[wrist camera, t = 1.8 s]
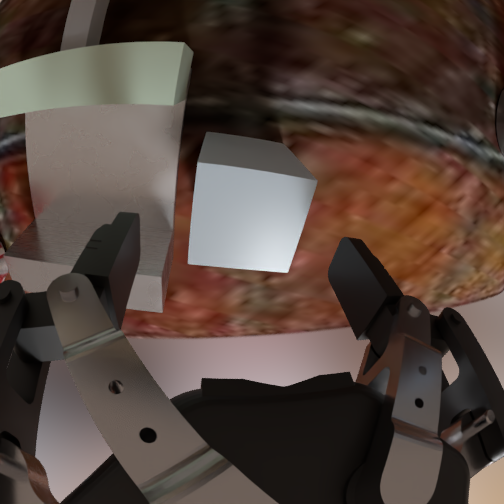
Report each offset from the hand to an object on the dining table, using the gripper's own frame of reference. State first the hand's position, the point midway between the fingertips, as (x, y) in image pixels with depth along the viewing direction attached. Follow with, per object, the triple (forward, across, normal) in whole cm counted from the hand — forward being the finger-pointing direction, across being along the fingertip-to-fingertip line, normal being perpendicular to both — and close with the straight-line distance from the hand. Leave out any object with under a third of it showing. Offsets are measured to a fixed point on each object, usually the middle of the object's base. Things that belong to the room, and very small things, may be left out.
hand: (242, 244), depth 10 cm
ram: (+8, +9, -11) cm, 16 cm away
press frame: (+9, +9, 0) cm, 13 cm away
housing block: (+9, -1, 0) cm, 9 cm away
